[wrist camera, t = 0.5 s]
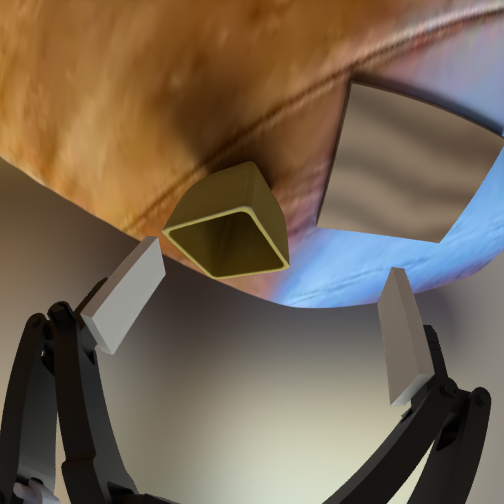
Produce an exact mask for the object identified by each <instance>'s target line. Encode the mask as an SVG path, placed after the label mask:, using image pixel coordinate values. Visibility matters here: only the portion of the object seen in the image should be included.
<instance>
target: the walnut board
mask: <svg viewBox="0 0 504 504" xmlns="http://www.w3.org/2000/svg"><path fill="white" fill-rule="evenodd" d="M503 146H504V137H503V136H502V135H501V134H499V133H498V132H496V131H494V130H492V129H490V128H488V127H486V126H484V125H482V124H480V123H478V122H476V121H474V120H472V119H470V118H468V117H466V116H463V115H461V114H459V113H457V112H454V111H452V110H449V109H447V108H445V107H442V106H439V105H437V104H434V103H432V102H429V101H426V100H423V99H420V98H417V97H414V96H411V95H408V94H405V93H402V92H399V91H395V90H392V89H388V88H384V87H381V86H377V85H373V84H369V83H364V82H360V81H355V80H351V79H350V81H349V86H348V91H347V96H346V101H345V106H344V111H343V115H342V120H341V125H340V129H339V133H338V138H337V142H336V146H335V151H334V155H333V159H332V163H331V167H330V171H329V175H328V179H327V183H326V187H325V190H324V194H323V198H322V202H321V205H320V209H319V213H318V216H317V220H316V226H317V227H321V228H329V229H338V230H346V231H355V232H363V233H370V234H378V235H386V236H393V237H400V238H407V239H414V240H421V241H428V242H434V243H440V242H441V240H442V239H443V238H444V236H445V235H446V234H447V233H448V231H449V230H450V229H451V227H452V226H453V225H454V223H455V222H456V221H457V219H458V218H459V216H460V215H461V214H462V212H463V211H464V209H465V208H466V207H467V205H468V204H469V202H470V201H471V199H472V198H473V196H474V195H475V193H476V192H477V190H478V189H479V187H480V185H481V184H482V182H483V181H484V179H485V177H486V176H487V174H488V172H489V171H490V169H491V167H492V166H493V164H494V162H495V160H496V159H497V157H498V155H499V153H500V151H501V150H502V148H503Z"/></svg>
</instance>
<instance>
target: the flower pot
mask: <svg viewBox="0 0 504 504" xmlns="http://www.w3.org/2000/svg"><path fill="white" fill-rule="evenodd" d="M162 232H163V233H164V234H165V236H166V237H167V238H168V239H169V240H170V241H171V242H172V243H173V244H174V245H175V246H176V247H178V248H179V249H180V250H181V251H182V252H183V253H184V254H185V255H186V256H187V257H188V258H190V259H191V260H192V261H193V262H194V263H195V264H196V265H197V266H198V267H200V268H201V269H202V270H203V271H204V272H205V273H206V274H207V275H209V276H210V277H211V278H213V279H224V278H231V277H238V276H244V275H252V274H258V273H266V272H273V271H280V270H284V269H287V268H289V267H290V265H289V251H288V238H287V228H286V222H285V218H284V215H283V213H282V210H281V208H280V206H279V204H278V202H277V200H276V198H275V196H274V195H273V193H272V191H271V190H270V188H269V186H268V184H267V183H266V181H265V179H264V178H263V176H262V174H261V172H260V171H259V169H258V167H257V166H256V164H255V163H254V162H253V161H247V162H244V163H241V164H238V165H235V166H232V167H229V168H227V169H224V170H221V171H218V172H215V173H212V174H210V175H208V176H207V177H205V178H203V179H201V180H199V181H198V182H197V183H195V184H194V185H193V186H192V187H190V188H189V189H188V190H187V192H186V193H185V194H184V195H183V197H182V198H181V200H180V201H179V203H178V204H177V206H176V208H175V209H174V211H173V213H172V214H171V216H170V218H169V219H168V221H167V223H166V225H165V226H164V228H163V230H162Z"/></svg>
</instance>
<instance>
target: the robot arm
mask: <svg viewBox="0 0 504 504" xmlns="http://www.w3.org/2000/svg"><path fill="white" fill-rule="evenodd" d="M164 276H165V269H164V265H163V260H162V255H161V250H160V245H159V239H158V237H155V236H146V237H145V238H144V239H143V240H142V242H141V243H140V244H139V245H138V246H137V247H136V248H135V249H134V250H133V251H132V252H131V254H130V255H129V256H128V257H127V258H126V259H125V260H124V261H123V263H122V264H121V265H120V266H119V267H118V268H117V269H116V270H115V272H114V273H113V274H112V275H111V276H110V277H109V278H104V279H102V280H101V281H100V282H98V283H97V284H96V285H95V286H94V288H93V289H92V291H90V292H89V294H88V296H86V297H85V298H84V300H83V301H82V302H81V303H80V304H79V306H78V307H77V308H76V309H75V311H74V312H73V311H72V309H71V307H70V306H69V304H68V303H67V302H65V301H60V302H57V303H55V304H53V305H52V306H51V307H50V309H49V310H48V313H47V315H48V317H49V318H50V320H47V319H46V317H45V316H44V314H42V313H36V314H34V315H32V316H31V317H30V318H29V319H28V321H27V323H26V325H25V328H24V331H23V334H22V337H21V340H20V343H19V346H18V350H17V353H16V357H15V360H14V364H13V367H12V371H11V375H10V379H9V384H8V388H7V393H6V398H5V403H4V409H3V415H2V422H1V430H0V504H60V501H59V499H58V498H57V497H55V496H54V494H53V493H54V488H55V446H56V424H57V412H58V417H59V423H60V430H61V436H62V441H63V446H64V451H65V455H66V460H65V462H63V463H62V466H61V468H62V475H63V478H64V482H65V485H66V489H67V493H68V496H69V499H70V502H71V504H179V503H176V502H173V501H170V500H167V499H165V498H161V497H157V496H153V495H150V494H146V493H145V494H139V493H138V490H137V488H136V486H135V484H134V481H133V480H132V478H131V477H130V476H129V474H128V473H127V471H126V470H125V467H124V465H123V462H122V459H121V456H120V453H119V450H118V447H117V444H116V441H115V437H114V434H113V431H112V427H111V423H110V419H109V416H108V412H107V407H106V403H105V398H104V395H103V389H102V384H101V379H100V374H99V368H98V362H97V355H96V351H95V349H94V348H95V346H96V345H97V344H98V346H99V348H100V349H101V351H103V352H106V353H108V354H111V355H113V354H114V352H115V351H116V349H117V348H118V346H119V344H120V343H121V341H122V339H123V338H124V336H125V335H126V333H127V332H128V330H129V328H130V327H131V325H132V324H133V322H134V321H135V319H136V317H137V316H138V314H139V313H140V311H141V310H142V308H143V307H144V305H145V304H146V302H147V301H148V299H149V298H150V296H151V295H152V293H153V292H154V290H155V289H156V287H157V286H158V284H159V283H160V281H161V280H162V278H163V277H164ZM377 306H378V311H379V317H380V323H381V329H382V335H383V342H384V348H385V357H386V365H387V375H388V385H389V397H390V406H400V405H405V404H406V403H407V402H409V401H410V400H411V407H410V408H409V409H408V410H407V411H406V412H405V413H404V414H403V415H402V417H403V418H402V419H401V420H400V422H399V423H398V424H397V426H396V427H395V428H394V430H393V431H392V432H391V433H390V435H389V436H388V437H387V438H386V440H385V441H384V442H383V443H382V444H381V445H380V447H379V448H378V449H377V450H376V451H375V453H374V454H373V455H372V456H371V457H370V458H369V459H368V460H367V461H366V462H365V463H364V465H363V466H362V467H361V468H360V469H359V470H358V471H357V472H356V473H355V474H354V475H353V476H352V477H351V478H350V479H349V480H348V481H347V482H346V483H345V484H344V485H342V486H341V487H340V488H339V489H338V490H337V491H336V492H335V493H334V494H333V495H332V496H330V497H329V498H328V499H327V500H326V501H325V502H323V503H322V504H387V503H388V502H389V500H390V499H391V498H392V497H393V496H394V495H395V493H396V492H397V491H398V490H399V489H400V487H401V486H402V485H403V483H404V482H405V481H406V480H407V479H408V477H409V476H410V475H411V473H412V472H413V471H414V469H415V468H416V466H417V465H418V464H419V462H420V461H421V459H422V457H423V456H424V455H425V453H426V452H427V450H428V449H429V447H430V446H431V444H432V443H433V441H434V443H433V446H432V449H431V451H430V454H429V457H428V459H427V462H426V464H425V466H424V469H423V471H422V474H421V476H420V478H419V480H418V482H417V484H416V486H415V489H414V491H413V493H412V495H411V497H410V498H409V500H408V502H407V504H465V502H466V500H467V497H468V495H469V492H470V489H471V487H472V484H473V481H474V478H475V475H476V472H477V468H478V465H479V461H480V458H481V454H482V450H483V446H484V441H485V437H486V432H487V427H488V421H489V415H490V409H491V397H490V394H489V392H488V391H487V390H486V389H485V388H483V387H478V388H475V390H473V391H472V392H468V391H465V390H461V389H459V388H458V387H457V384H456V383H455V382H454V381H453V380H452V379H451V378H449V377H448V375H447V371H446V367H445V362H444V358H443V355H442V351H441V347H440V344H439V340H438V337H437V333H436V332H435V330H434V329H433V328H432V326H431V325H423V324H422V321H421V317H420V314H419V311H418V308H417V305H416V301H415V298H414V296H413V292H412V289H411V287H410V284H409V281H408V278H407V275H406V273H405V270H404V269H403V268H395V267H392V268H391V271H390V273H389V276H388V279H387V281H386V284H385V286H384V289H383V291H382V294H381V296H380V299H379V301H378V304H377ZM42 351H43V352H44V353H43V356H41V355H42ZM434 439H435V440H434Z"/></svg>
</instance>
